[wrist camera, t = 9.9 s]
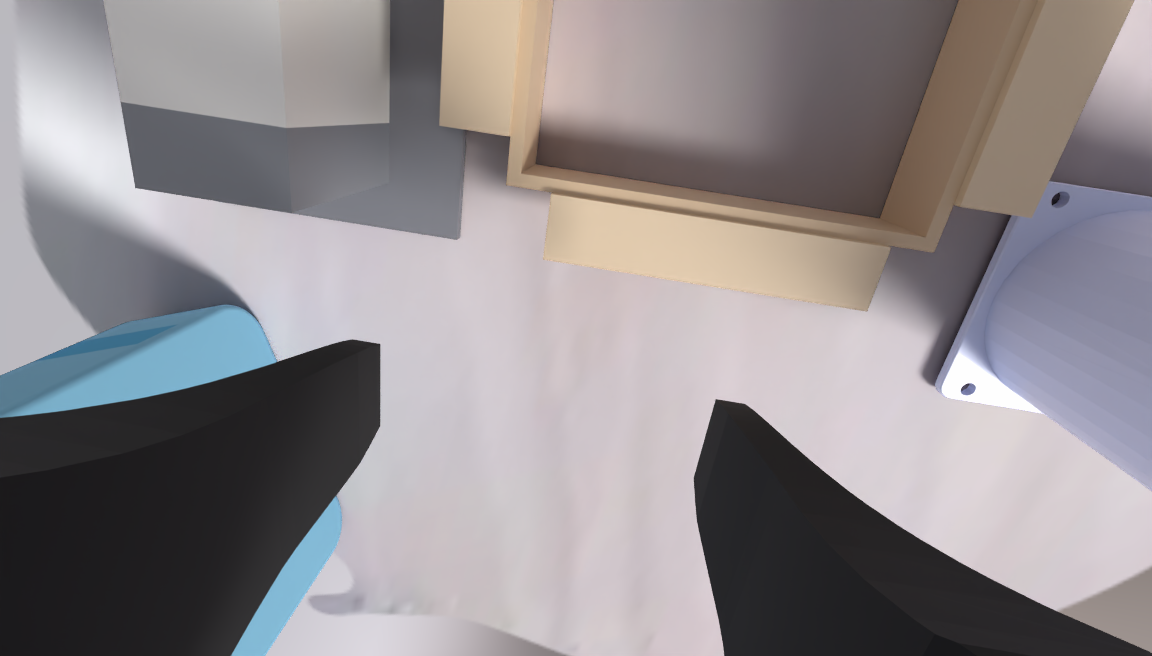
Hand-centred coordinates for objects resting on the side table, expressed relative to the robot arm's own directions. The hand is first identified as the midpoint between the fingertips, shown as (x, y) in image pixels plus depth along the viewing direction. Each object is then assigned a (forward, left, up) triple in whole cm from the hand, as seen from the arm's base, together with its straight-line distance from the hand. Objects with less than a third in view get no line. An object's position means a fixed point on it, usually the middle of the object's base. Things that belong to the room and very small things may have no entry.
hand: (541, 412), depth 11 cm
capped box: (+9, -7, -9) cm, 14 cm away
